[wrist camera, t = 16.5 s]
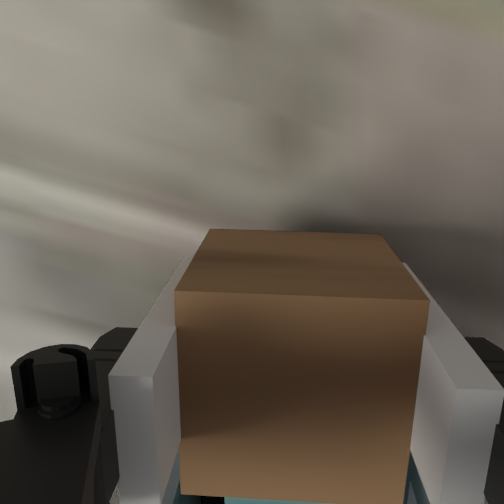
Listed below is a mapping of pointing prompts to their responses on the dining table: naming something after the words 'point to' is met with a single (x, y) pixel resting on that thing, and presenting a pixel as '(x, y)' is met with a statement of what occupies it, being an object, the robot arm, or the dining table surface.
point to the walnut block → (297, 367)
